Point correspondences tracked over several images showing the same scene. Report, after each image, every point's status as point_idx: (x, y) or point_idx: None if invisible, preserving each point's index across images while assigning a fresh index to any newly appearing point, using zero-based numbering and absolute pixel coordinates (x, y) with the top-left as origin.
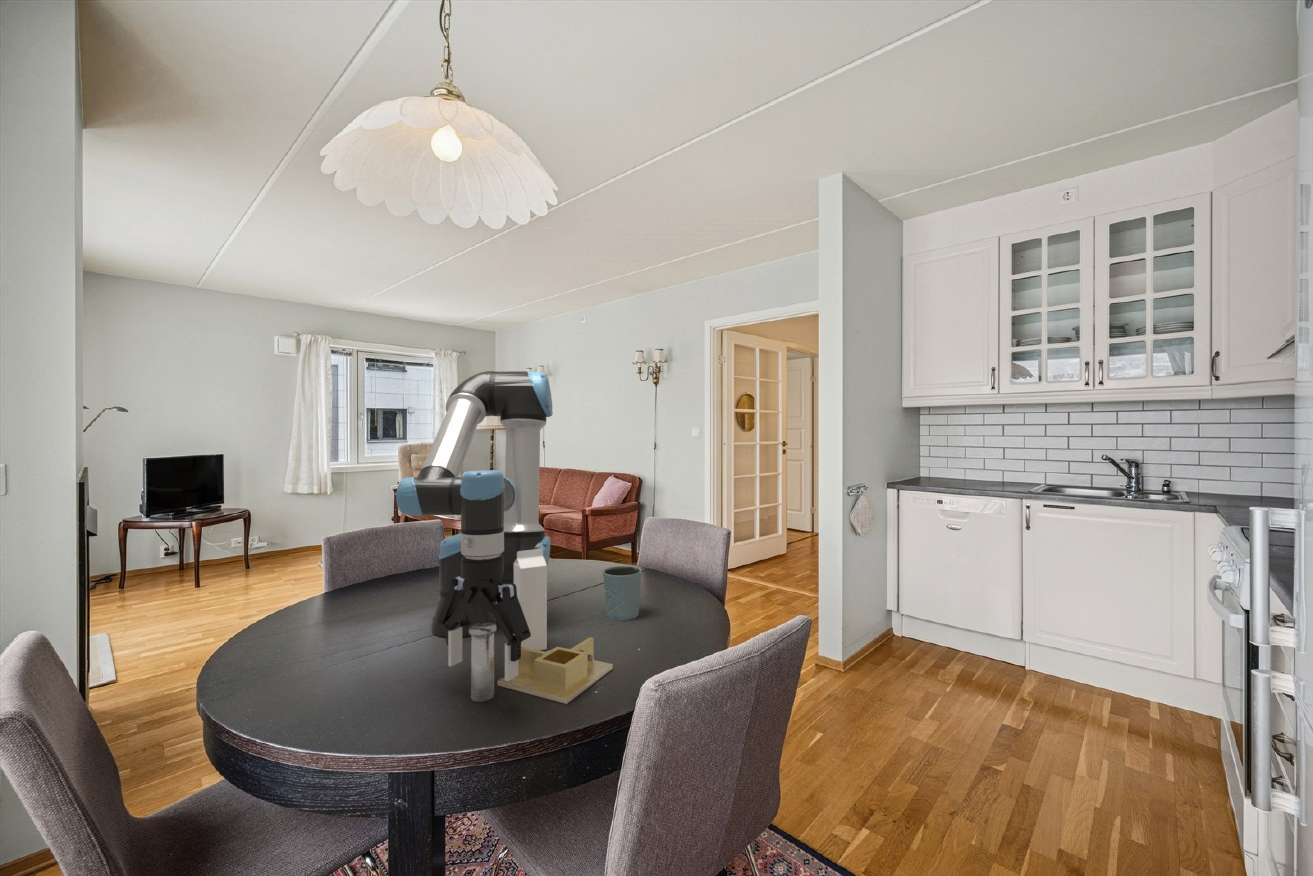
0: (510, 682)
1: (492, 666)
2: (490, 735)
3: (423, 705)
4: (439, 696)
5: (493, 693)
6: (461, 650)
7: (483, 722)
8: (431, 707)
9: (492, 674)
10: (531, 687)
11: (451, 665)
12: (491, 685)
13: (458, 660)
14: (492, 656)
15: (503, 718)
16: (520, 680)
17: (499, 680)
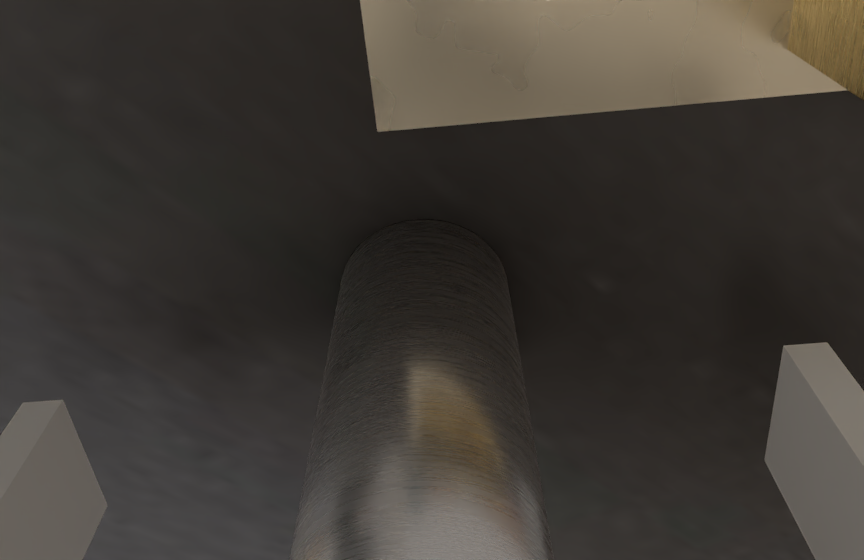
0: (518, 102)
1: (531, 438)
2: None
3: (202, 520)
4: (166, 424)
5: (501, 271)
6: (16, 497)
7: (681, 476)
8: (264, 512)
9: (523, 385)
10: (770, 67)
11: (101, 509)
12: (517, 341)
13: (68, 457)
14: (544, 519)
15: (769, 402)
16: (575, 15)
17: (391, 124)
